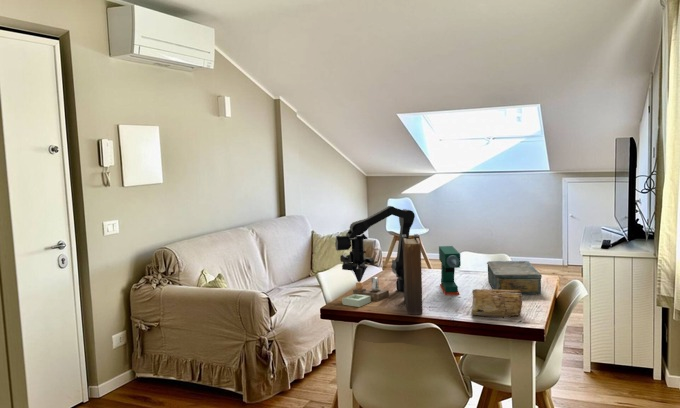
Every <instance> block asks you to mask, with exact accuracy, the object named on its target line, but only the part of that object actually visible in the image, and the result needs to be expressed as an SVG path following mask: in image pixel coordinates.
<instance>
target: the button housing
mask: <svg viewBox="0 0 680 408" xmlns="http://www.w3.org/2000/svg"><path fill="white" fill-rule="evenodd" d="M362 288H363V289H362V290H356V288H353V289H352V294H360V295H362V292H364V291H366V290H367V288H364V287H362Z"/></svg>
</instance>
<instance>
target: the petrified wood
mask: <svg viewBox="0 0 680 408" xmlns="http://www.w3.org/2000/svg"><path fill="white" fill-rule="evenodd" d="M471 303H472V308H471V312H470V313H471V315H474V316H482V317H505V318H507V317H508V318H509V317H513V316H521V312H522V309H523V308H522V307H523V295H521V291H519V290H513V291H512V290H494V289H493V288H491V289H490V288H489V289H485V288H484V289H479V288H474V289H472V302H471Z"/></svg>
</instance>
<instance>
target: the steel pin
mask: <svg viewBox="0 0 680 408" xmlns="http://www.w3.org/2000/svg"><path fill="white" fill-rule="evenodd" d="M370 280H371V289H372V292H375V293H377V292H379V289H380V287H379V277H377V276H374V277H371V279H370Z"/></svg>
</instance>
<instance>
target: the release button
mask: <svg viewBox="0 0 680 408" xmlns="http://www.w3.org/2000/svg"><path fill="white" fill-rule="evenodd" d="M363 288H364V287H363V282H362V281H360V282H358V281H357V282H355V289H356V290H362V289H363Z"/></svg>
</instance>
